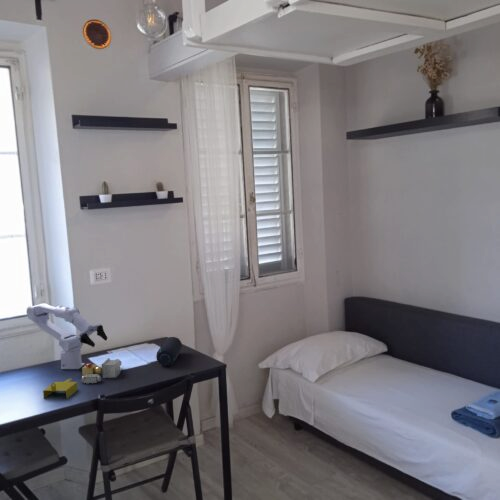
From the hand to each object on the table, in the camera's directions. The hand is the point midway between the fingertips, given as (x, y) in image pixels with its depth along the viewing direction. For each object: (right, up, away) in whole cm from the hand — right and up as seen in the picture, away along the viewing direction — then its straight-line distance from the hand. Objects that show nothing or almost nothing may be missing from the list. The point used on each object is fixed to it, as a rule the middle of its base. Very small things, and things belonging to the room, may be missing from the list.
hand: (100, 342), depth 256 cm
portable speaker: (+32, -12, +15) cm, 37 cm away
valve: (-2, -15, -3) cm, 16 cm away
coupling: (+7, -15, -1) cm, 16 cm away
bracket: (-10, -19, -23) cm, 31 cm away
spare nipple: (-1, -17, -12) cm, 20 cm away
